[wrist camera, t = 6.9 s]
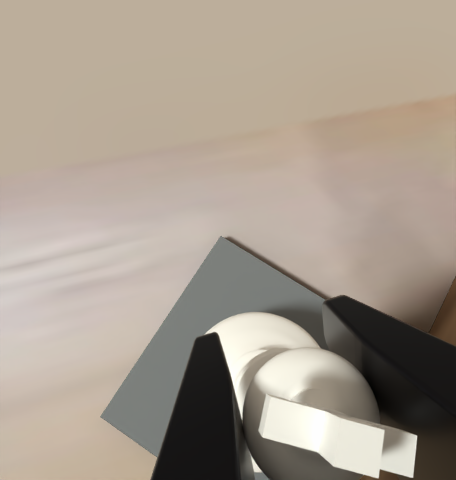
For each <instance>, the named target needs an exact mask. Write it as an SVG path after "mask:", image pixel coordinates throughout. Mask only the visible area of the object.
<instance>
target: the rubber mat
mask: <svg viewBox="0 0 456 480" xmlns="http://www.w3.org/2000/svg"><path fill="white" fill-rule="evenodd" d="M324 301H325V299H323V298H321V297H320V296H318V295H316V294H315V293H313V292H312V291H310V290H308V289H307V288H305V287H303V286H302V285H300V284H299V283H297V282H295V281H294V280H292V279H290V278H289V277H287V276H285V275H284V274H282V273H281V272H279V271H277V270H276V269H274V268H272V267H271V266H269V265H267V264H266V263H264V262H263V261H261V260H259V259H258V258H256V257H254V256H253V255H251V254H250V253H248V252H246V251H245V250H243V249H241V248H240V247H238V246H236V245H235V244H233V243H232V242H230V241H228V240H227V239H225V238H223V237H222V236H220V238H219V239H218V241H217V242H216V244H215V245H214V247H213V248H212V250H211V251H210V253H209V254H208V256H207V257H206V259H205V260H204V262H203V263H202V265H201V266H200V268H199V269H198V271H197V272H196V274H195V275H194V277H193V278H192V280H191V281H190V283H189V284H188V286H187V287H186V289H185V290H184V292H183V293H182V295H181V296H180V298H179V299H178V301H177V302H176V304H175V305H174V307H173V308H172V310H171V311H170V313H169V314H168V316H167V317H166V319H165V320H164V322H163V323H162V325H161V326H160V328H159V329H158V331H157V332H156V334H155V335H154V337H153V338H152V340H151V341H150V343H149V344H148V346H147V347H146V349H145V350H144V352H143V353H142V355H141V356H140V358H139V359H138V361H137V362H136V364H135V365H134V367H133V368H132V370H131V371H130V373H129V374H128V376H127V377H126V379H125V380H124V382H123V383H122V385H121V386H120V388H119V389H118V391H117V392H116V394H115V395H114V397H113V398H112V400H111V401H110V403H109V404H108V406H107V407H106V409H105V410H104V412H103V413H102V415H101V416H100V417H101V418H103V419H104V420H105V421H107V422H108V423H110V424H111V425H112V426H114V427H115V428H117V429H118V430H119V431H121V432H122V433H124V434H125V435H126V436H128V437H129V438H131V439H132V440H134V441H135V442H136V443H138V444H139V445H141V446H142V447H143V448H145V449H146V450H148V451H149V452H150V453H152V454H153V455H155V456H156V457H158V454H159V451H160V448H161V445H162V442H163V438H164V435H165V432H166V429H167V426H168V422H169V419H170V416H171V413H172V410H173V407H174V403H175V400H176V397H177V394H178V391H179V387H180V384H181V381H182V378H183V375H184V372H185V368H186V365H187V362H188V359H189V356H190V353H191V349H192V346H193V343H194V340H195V338H196V337H198V336H201V335H204V334H205V333H206V332H207V331H209V330H210V329H211V328H212V327H213V326H215V325H216V324H218V323H219V322H221V321H223V320H225V319H227V318H229V317H231V316H234V315H238V314H242V313H248V312H264V313H270V314H274V315H278V316H281V317H284V318H286V319H288V320H290V321H292V322H294V323H296V324H297V325H299V326H300V327H301V328H303V329H304V330H305V331H306V332H307V333H309V334H310V335H311V336H312V338H313V339H314V340H315V341H316V342H317V344H318V345H319V347H320V348H321V349H324V350H327V351H330V350H329V348H328V345H327V343H326V340H325V335H324V325H323V313H322V304H323V302H324ZM254 476H255V480H270V479H269V478H268V477H267V476H266V475H265V474H264V473H263V472H254Z"/></svg>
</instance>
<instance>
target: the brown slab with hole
mask: <svg viewBox="0 0 456 480" xmlns="http://www.w3.org/2000/svg"><path fill="white" fill-rule="evenodd" d="M429 334H431V335H433V336H435V337H437V338H440V339H442V340H444V341H446V342H448V343H450V344H453V345H455V346H456V277H455V279H454V281H453V283H452V285H451V288H450V290H449V292H448V294H447V296H446V298H445V300H444V302H443V305H442V307H441V309H440V311H439V313H438V315H437V317H436V319H435V322H434V324H433V326H432V328H431V330H430V332H429ZM360 480H400V479H399V478H398V476H397V474H396V473H392V472H388V471H385V470H381V469H380V471H379V479H378V478H375V477H371V476H367V475H363V476H362V477H361V478H360Z"/></svg>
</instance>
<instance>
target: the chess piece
mask: <svg viewBox="0 0 456 480" xmlns="http://www.w3.org/2000/svg"><path fill="white" fill-rule="evenodd" d="M212 332H217V333H218V335H219V337H220V341H221V344H222V347H223V351H224V354H225V357H226V360H227V364H228V367H229V370H230V374H231V378H232V382H233V386H234V390H235V394H236V398H237V402H238V406H239V410H240V414H241V418H242V422H243V431H244V436H245V440H246V444H247V446H248V449H249V451H250V454H251V459H252V464H253V469H254V472H263V473H264V474H265V475H266V476H267V477H268V478H269V479H270V480H359V479H360V478H361V477H362V476H363V475H367V476H371V477H375V478H378V479H379V471H380V469H381V470H385V471H388V472H392V473H396V474H399V475H403V476H407V477H411V478H413V473H414V463H415V454H416V444H417V435H414V434H411V433H408V432H406V431H403V430H400V429H396V428H393V427H389V426H385V425H381V424H380V414H379V409H378V405H377V401H376V398H375V396H374V393H373V391H372V389H371V387H370V386H369V384H368V382H367V381H366V379H365V378H364V377H363V375H362V374H361V373H360V372H359V371H358V370H357V368H355V367H354V366H353V365H352V364H351V363H350V362H348V361H347V360H346V359H344V358H343V357H341V356H339V355H337V354H335V353H333V352H330V351H327V350H324V349H321V348H320V347H319V345H318V344H317V342H316V341H315V340H314V339H313V338H312V336H311V335H310V334H309V333H307V332H306V331H305V330H304V329H303V328H301V327H300V326H299V325H297V324H296V323H294V322H292V321H290V320H288V319H286V318H284V317H281V316H278V315H274V314H270V313H264V312H248V313H242V314H238V315H234V316H231V317H229V318H227V319H225V320H223V321H221V322H219V323H218V324H216V325H215V326H213V327H212V328H211V329H210V330H209V331H207V332H206V333H205V334H208V333H212ZM205 334H204V335H205Z"/></svg>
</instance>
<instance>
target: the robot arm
mask: <svg viewBox="0 0 456 480" xmlns="http://www.w3.org/2000/svg"><path fill="white" fill-rule="evenodd" d="M322 313H323V325H324V335H325V340H326V343H327V345H328V348H329V350H330V352H333V353H335V354H337V355H339V356H341V357H343V358H344V359H346V360H347V361H348V362H350V363H351V364H352V365H353V366H354V367H355V368H357V370H358V371H359V372H360V373H361V374H362V375H363V377H364V378H365V379H366V381H367V382H368V384H369V386H370V387H371V389H372V391H373V393H374V396H375V398H376V401H377V405H378V409H379V414H380V424H381V425H385V426H389V427H393V428H396V429H400V430H403V431H406V432H408V433H411V434H414V435H417V444H416V454H415V463H414V473H413V478H411V477H407V476H403V475H399V474H397V476H398V478H399V479H400V480H456V346H455V345H453V344H450V343H448V342H446V341H444V340H442V339H440V338H437V337H435V336H433V335H431V334H429V333H426V332H424V331H422V330H420V329H418V328H416V327H413V326H411V325H409V324H407V323H405V322H402V321H400V320H398V319H396V318H394V317H392V316H389V315H387V314H385V313H383V312H381V311H379V310H376V309H374V308H372V307H370V306H368V305H365V304H363V303H361V302H359V301H357V300H355V299H352V298H350V297H348V296H345V295H340V296H337V297H333V298H330V299H326V300H325V301H324V302H323V304H322ZM151 480H255V476H254V469H253V464H252V459H251V454H250V451H249V449H248V446H247V444H246V440H245V436H244V431H243V422H242V418H241V414H240V410H239V406H238V402H237V398H236V394H235V390H234V386H233V382H232V378H231V374H230V370H229V367H228V364H227V360H226V357H225V354H224V351H223V347H222V344H221V341H220V337H219V335H218V333H217V332H212V333H208V334H205V335H201V336H198V337H196V338H195V340H194V343H193V346H192V349H191V353H190V356H189V359H188V362H187V365H186V368H185V372H184V375H183V378H182V381H181V384H180V387H179V391H178V394H177V397H176V400H175V403H174V407H173V410H172V413H171V416H170V419H169V422H168V426H167V429H166V432H165V435H164V438H163V442H162V445H161V448H160V451H159V454H158V457H157V461H156V464H155V467H154V470H153V473H152V476H151Z"/></svg>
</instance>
